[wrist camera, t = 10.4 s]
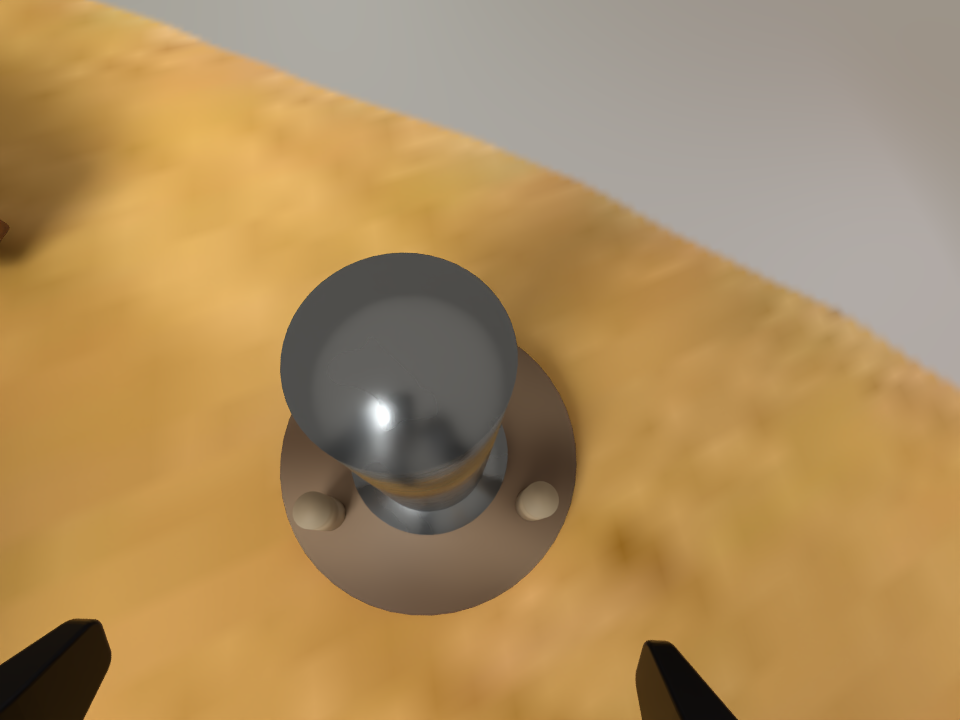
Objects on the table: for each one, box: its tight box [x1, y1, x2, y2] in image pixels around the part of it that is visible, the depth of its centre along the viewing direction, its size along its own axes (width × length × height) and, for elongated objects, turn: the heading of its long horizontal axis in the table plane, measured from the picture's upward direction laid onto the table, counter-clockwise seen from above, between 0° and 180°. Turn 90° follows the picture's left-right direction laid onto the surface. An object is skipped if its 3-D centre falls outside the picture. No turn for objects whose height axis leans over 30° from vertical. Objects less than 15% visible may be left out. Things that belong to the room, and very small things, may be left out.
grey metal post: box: [280, 253, 518, 535], centre depth 14 cm, size 6×6×11 cm
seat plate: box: [280, 346, 576, 615], centre depth 19 cm, size 12×12×3 cm
